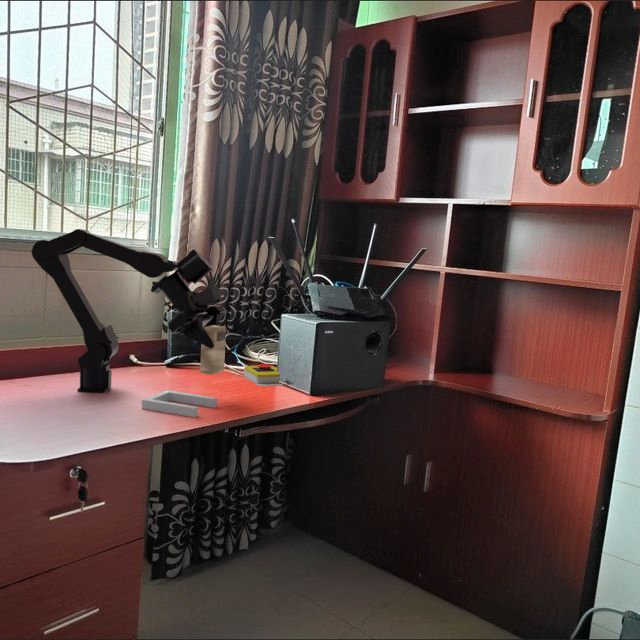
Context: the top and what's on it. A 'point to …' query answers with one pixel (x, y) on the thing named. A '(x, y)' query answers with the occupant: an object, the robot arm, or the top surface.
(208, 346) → the robot arm
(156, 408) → the shallow open frame
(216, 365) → the beige rectangular block
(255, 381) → the emergency button
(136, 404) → the top surface
